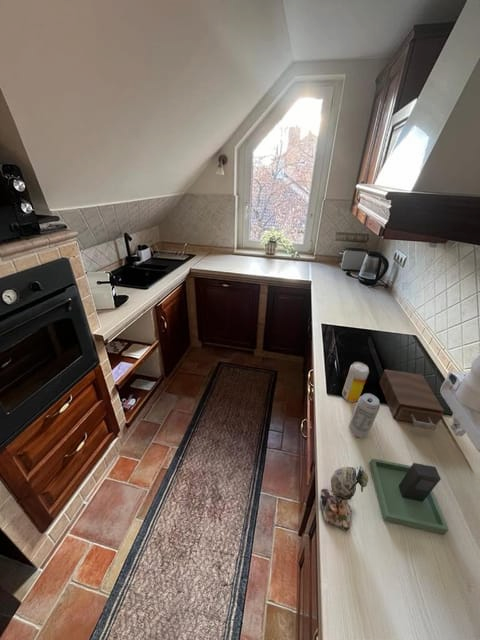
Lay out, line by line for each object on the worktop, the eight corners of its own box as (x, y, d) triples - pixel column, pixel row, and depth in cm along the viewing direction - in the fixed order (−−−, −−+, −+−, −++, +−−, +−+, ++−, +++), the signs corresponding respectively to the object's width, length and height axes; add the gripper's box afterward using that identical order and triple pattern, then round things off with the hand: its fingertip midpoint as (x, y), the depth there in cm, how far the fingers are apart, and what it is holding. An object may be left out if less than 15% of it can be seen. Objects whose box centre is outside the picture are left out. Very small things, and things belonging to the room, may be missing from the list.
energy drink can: (371, 432, 84) (385, 400, 76) (361, 442, 80) (375, 410, 73) (354, 420, 88) (366, 388, 80) (344, 429, 84) (356, 398, 77)
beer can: (362, 400, 95) (373, 370, 88) (349, 405, 93) (360, 374, 86) (350, 389, 100) (360, 359, 92) (338, 393, 98) (347, 363, 90)
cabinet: (435, 424, 87) (444, 410, 83) (392, 417, 89) (399, 403, 85) (415, 387, 102) (422, 374, 98) (379, 382, 104) (384, 369, 100)
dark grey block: (418, 489, 68) (435, 466, 63) (423, 502, 66) (441, 480, 60) (398, 485, 69) (413, 462, 63) (402, 498, 66) (418, 475, 61)
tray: (419, 472, 73) (422, 468, 71) (444, 534, 60) (448, 530, 59) (369, 463, 75) (371, 458, 73) (383, 520, 62) (386, 516, 61)
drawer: (442, 437, 82) (449, 426, 79) (400, 429, 84) (406, 419, 81) (416, 390, 99) (422, 380, 97) (383, 385, 101) (387, 375, 99)
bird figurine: (355, 492, 68) (377, 447, 58) (348, 537, 59) (373, 494, 49) (324, 476, 71) (340, 431, 61) (313, 517, 63) (330, 473, 52)
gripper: (527, 435, 53) (493, 471, 60) (471, 370, 71) (450, 404, 78) (493, 429, 54) (463, 466, 61) (446, 367, 72) (427, 401, 79)
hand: (455, 431), depth 70 cm, fingers closed
